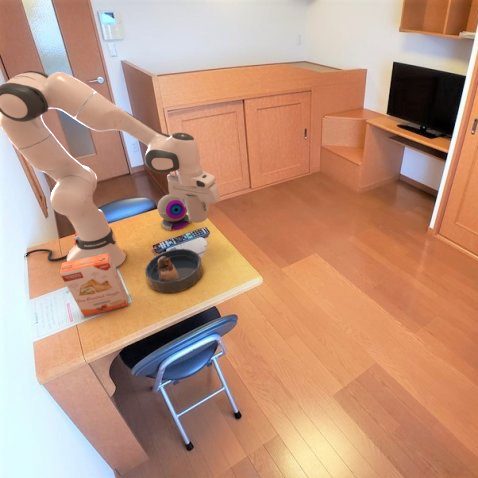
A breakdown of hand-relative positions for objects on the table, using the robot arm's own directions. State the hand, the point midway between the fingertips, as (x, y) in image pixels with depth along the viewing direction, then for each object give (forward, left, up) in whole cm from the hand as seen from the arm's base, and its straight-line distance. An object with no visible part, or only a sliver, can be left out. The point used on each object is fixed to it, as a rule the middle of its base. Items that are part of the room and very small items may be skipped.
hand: (197, 208), depth 140 cm
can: (0, 0, -5) cm, 5 cm away
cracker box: (-37, -21, -22) cm, 48 cm away
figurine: (-15, -15, -22) cm, 30 cm away
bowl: (-13, -12, -22) cm, 28 cm away
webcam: (-12, +28, -22) cm, 37 cm away
